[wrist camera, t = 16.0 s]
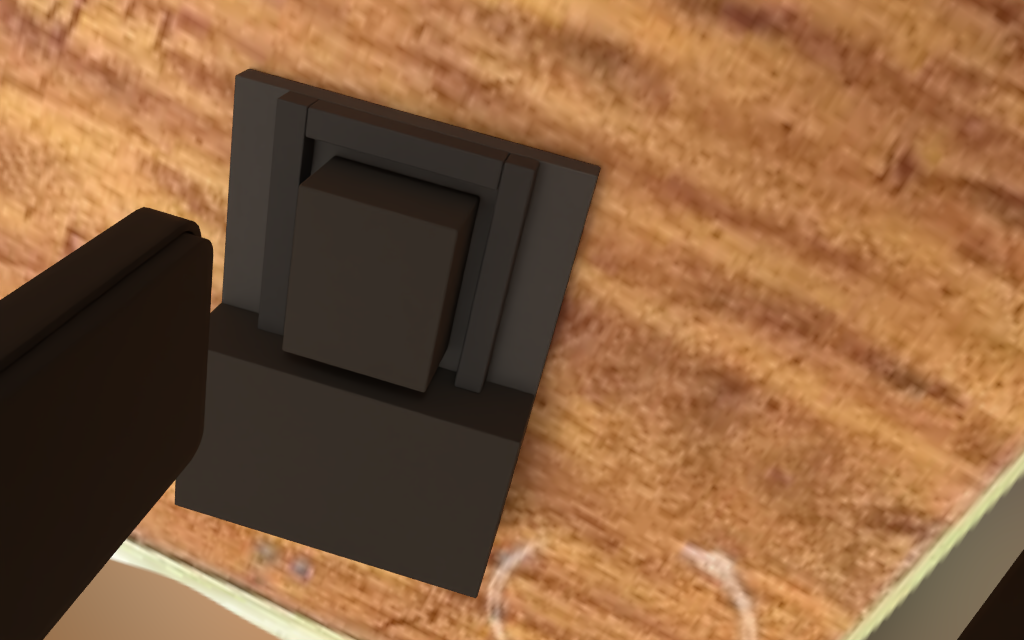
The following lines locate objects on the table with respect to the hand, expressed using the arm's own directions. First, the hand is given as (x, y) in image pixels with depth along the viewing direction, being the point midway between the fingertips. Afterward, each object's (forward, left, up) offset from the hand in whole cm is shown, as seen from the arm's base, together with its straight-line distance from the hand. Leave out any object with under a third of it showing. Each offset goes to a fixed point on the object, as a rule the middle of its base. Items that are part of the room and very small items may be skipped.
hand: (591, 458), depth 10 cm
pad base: (+11, -7, -20) cm, 24 cm away
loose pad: (+8, -7, -19) cm, 21 cm away
